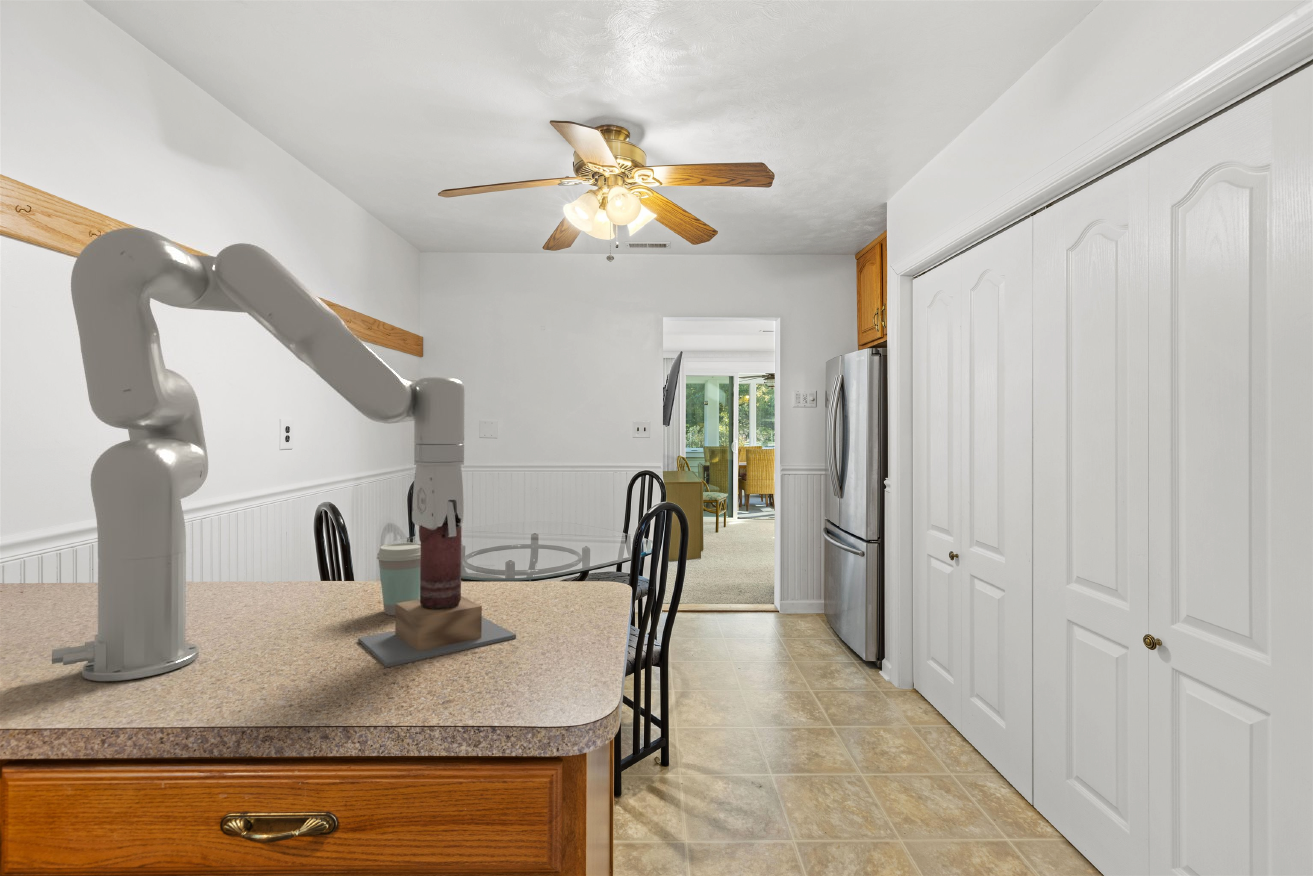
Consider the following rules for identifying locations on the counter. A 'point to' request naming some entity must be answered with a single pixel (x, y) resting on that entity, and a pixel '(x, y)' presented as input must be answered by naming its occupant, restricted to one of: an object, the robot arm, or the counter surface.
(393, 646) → the mat
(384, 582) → the coffee cup
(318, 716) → the counter surface
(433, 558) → the can
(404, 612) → the block
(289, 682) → the counter surface
